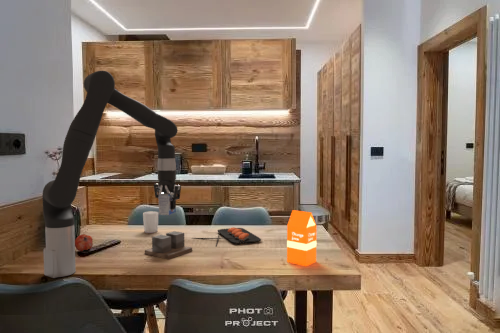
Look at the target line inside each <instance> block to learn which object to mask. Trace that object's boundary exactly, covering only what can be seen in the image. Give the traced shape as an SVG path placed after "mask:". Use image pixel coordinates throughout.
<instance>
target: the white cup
mask: <svg viewBox="0 0 500 333" xmlns="http://www.w3.org/2000/svg"><path fill="white" fill-rule="evenodd" d="M142 219H143V230H144V233H146V234H152V233H157V232H158V230H159V211H154V210H153V211H152V210H151V211H144V212H143V213H142Z"/></svg>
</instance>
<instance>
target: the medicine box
mask: <svg viewBox="0 0 500 333" xmlns="http://www.w3.org/2000/svg"><path fill="white" fill-rule="evenodd" d="M172 197H173V196H172ZM170 201H171V200H170V195H169V194H167V193H163V194H160V195H159V199H158V216H159V215H160V216H170V215H172V214H174V213H176V212H177V207H176V208H175V209H174V210H171V209H170Z"/></svg>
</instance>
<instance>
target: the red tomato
mask: <svg viewBox="0 0 500 333" xmlns="http://www.w3.org/2000/svg"><path fill="white" fill-rule="evenodd" d="M93 242H94V241H93V237H92V236H91V235H87V234H84V233H83V234H79V235H78V236H77V237H76V238H75V250H76V251H78V252H84V251H83V250H88V249H90V250H91V249H92V248H93V246H94V244H93ZM88 251H89V250H88Z"/></svg>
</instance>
